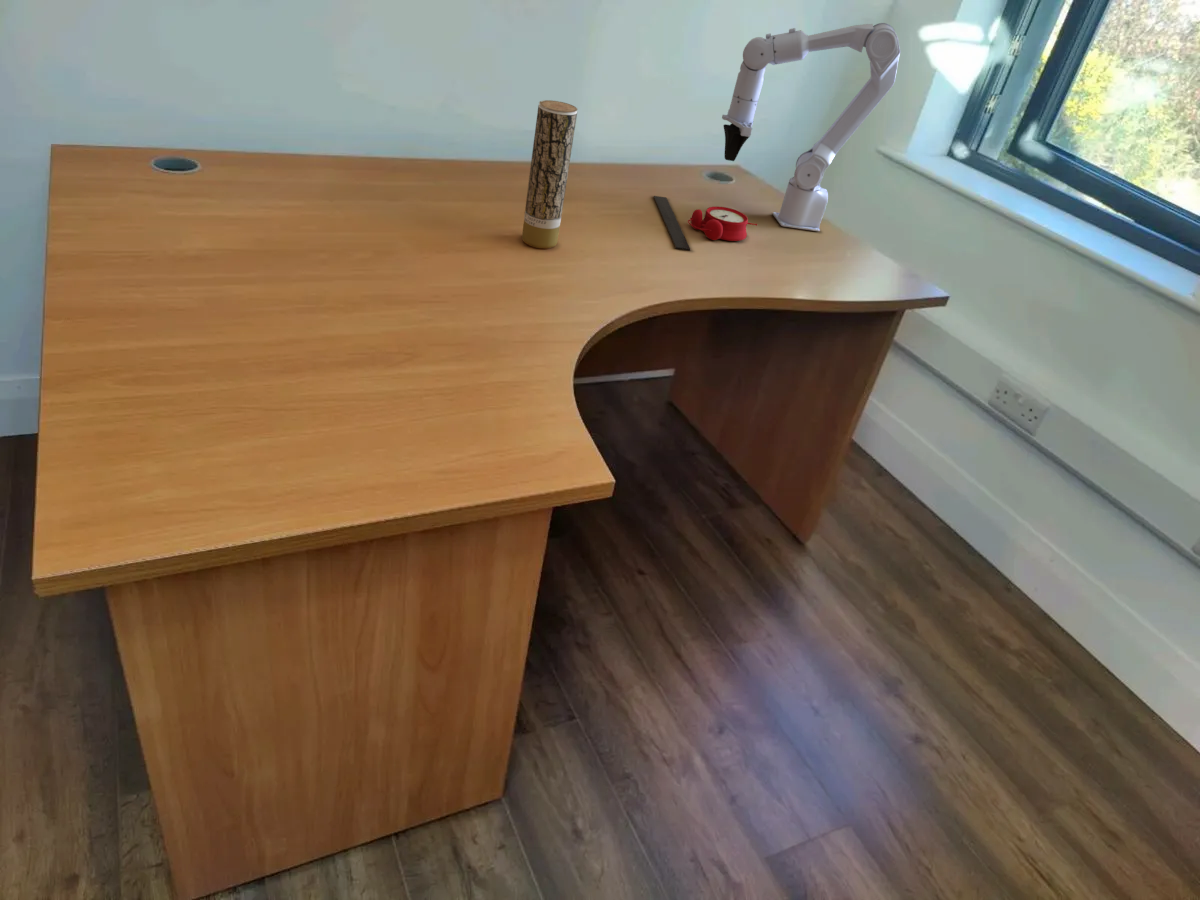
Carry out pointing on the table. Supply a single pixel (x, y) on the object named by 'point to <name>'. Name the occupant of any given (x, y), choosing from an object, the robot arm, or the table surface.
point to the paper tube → (548, 173)
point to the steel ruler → (671, 223)
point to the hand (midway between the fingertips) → (729, 159)
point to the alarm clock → (721, 223)
